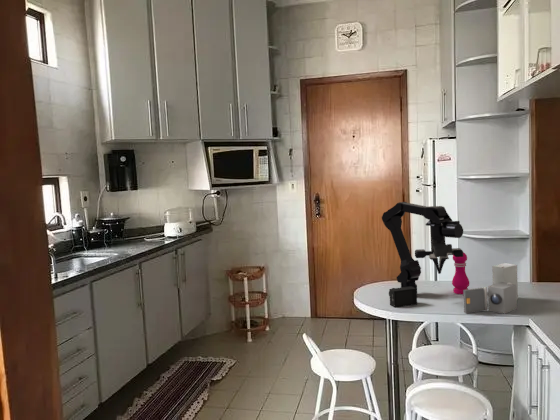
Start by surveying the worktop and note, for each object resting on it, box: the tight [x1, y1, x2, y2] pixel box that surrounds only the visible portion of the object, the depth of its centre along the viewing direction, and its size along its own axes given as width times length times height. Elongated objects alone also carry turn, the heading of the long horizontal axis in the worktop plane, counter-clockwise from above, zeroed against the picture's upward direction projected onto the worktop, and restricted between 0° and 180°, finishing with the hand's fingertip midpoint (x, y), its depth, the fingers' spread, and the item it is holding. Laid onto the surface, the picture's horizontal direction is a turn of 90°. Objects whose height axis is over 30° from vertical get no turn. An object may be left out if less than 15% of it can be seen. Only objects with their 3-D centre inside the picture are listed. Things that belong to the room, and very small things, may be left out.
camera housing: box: [487, 282, 518, 315], centre depth 177 cm, size 6×11×10 cm, turn 126°
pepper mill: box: [451, 248, 470, 295], centre depth 205 cm, size 7×7×20 cm
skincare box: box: [491, 262, 519, 300], centre depth 189 cm, size 8×6×15 cm
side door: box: [462, 286, 488, 314], centre depth 176 cm, size 10×2×9 cm, turn 102°
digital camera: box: [388, 286, 418, 309], centre depth 192 cm, size 10×5×7 cm, turn 104°
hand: (439, 273), depth 192 cm, fingers closed
